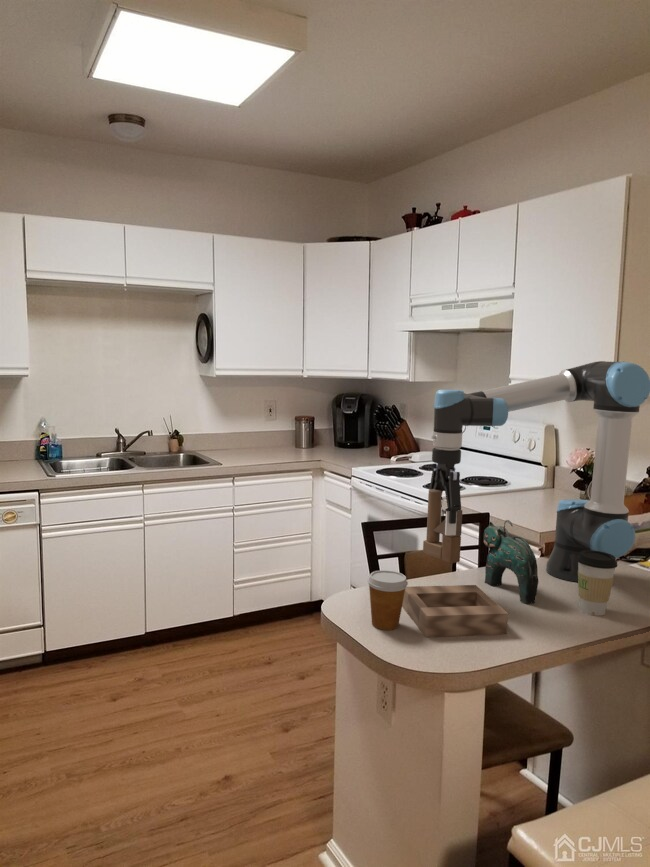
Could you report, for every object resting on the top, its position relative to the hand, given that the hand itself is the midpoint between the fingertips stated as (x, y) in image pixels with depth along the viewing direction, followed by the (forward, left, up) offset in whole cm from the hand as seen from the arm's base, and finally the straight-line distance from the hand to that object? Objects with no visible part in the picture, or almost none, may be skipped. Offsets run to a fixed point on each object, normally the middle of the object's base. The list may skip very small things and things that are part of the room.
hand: (442, 529), depth 178 cm
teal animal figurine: (-21, 0, -18) cm, 28 cm away
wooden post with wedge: (0, 0, -8) cm, 8 cm away
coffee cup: (-37, +15, -18) cm, 44 cm away
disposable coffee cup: (+20, +19, -18) cm, 33 cm away
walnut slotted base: (+3, +17, -18) cm, 25 cm away
